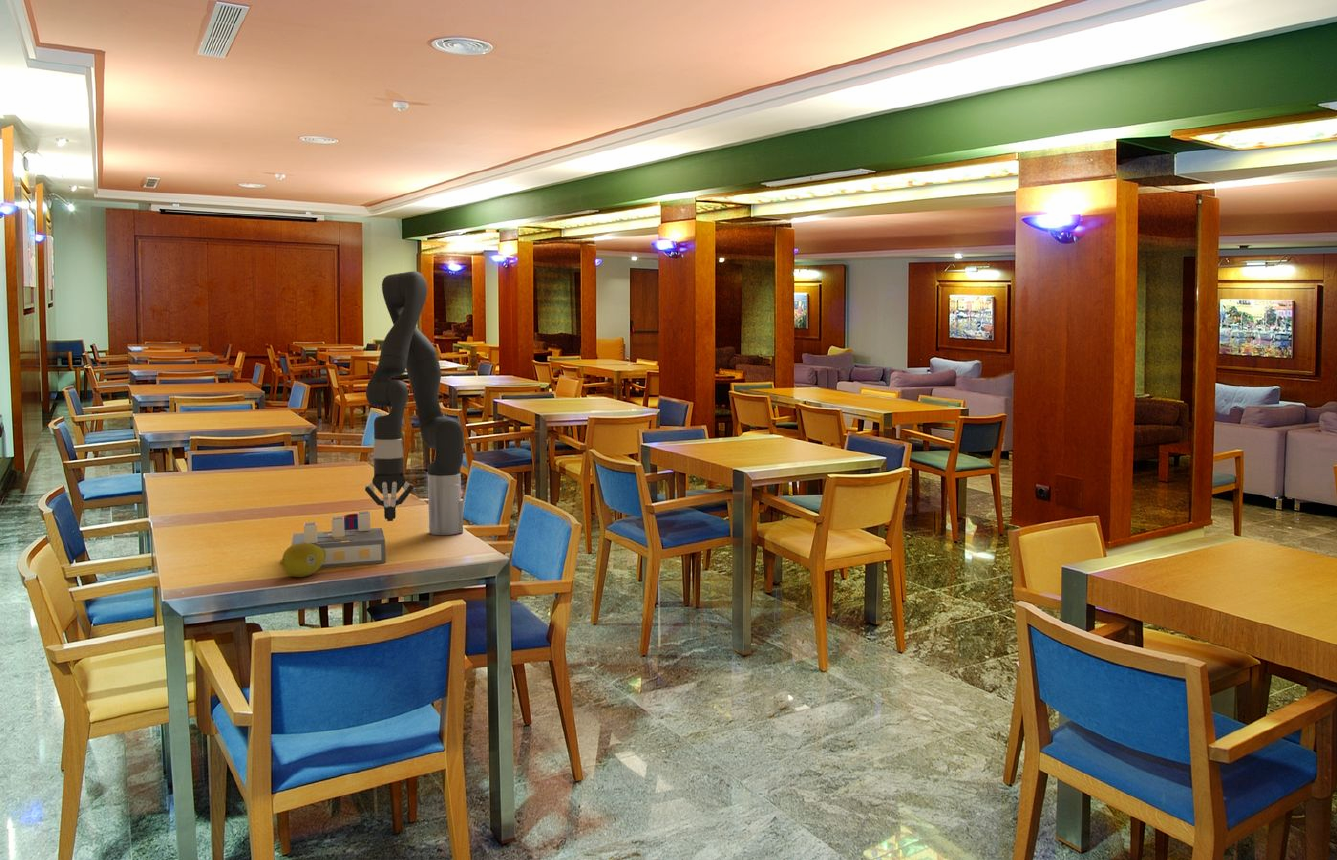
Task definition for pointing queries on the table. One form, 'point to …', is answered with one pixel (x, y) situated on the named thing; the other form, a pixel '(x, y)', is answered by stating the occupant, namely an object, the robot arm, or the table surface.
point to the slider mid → (338, 527)
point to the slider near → (310, 532)
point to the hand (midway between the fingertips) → (389, 520)
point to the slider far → (364, 521)
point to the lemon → (302, 559)
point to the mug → (351, 522)
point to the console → (349, 547)
